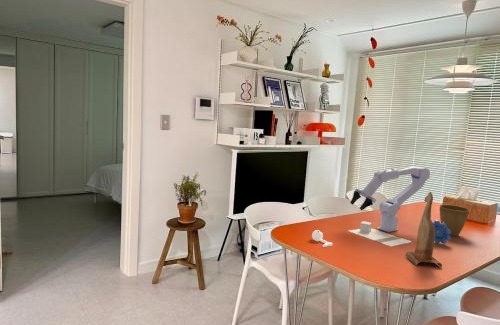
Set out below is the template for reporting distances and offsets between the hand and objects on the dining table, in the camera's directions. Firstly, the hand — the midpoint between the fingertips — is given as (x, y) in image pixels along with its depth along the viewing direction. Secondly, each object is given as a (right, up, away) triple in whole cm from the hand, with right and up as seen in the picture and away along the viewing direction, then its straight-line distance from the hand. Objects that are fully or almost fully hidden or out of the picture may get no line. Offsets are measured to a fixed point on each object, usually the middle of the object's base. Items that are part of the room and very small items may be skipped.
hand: (355, 206), depth 200 cm
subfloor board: (+10, -15, -9) cm, 20 cm away
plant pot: (+56, -17, +3) cm, 58 cm away
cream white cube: (+5, -14, -1) cm, 15 cm away
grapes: (+38, -18, -16) cm, 45 cm away
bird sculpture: (+16, -19, -45) cm, 51 cm away
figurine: (-25, -15, -25) cm, 39 cm away
